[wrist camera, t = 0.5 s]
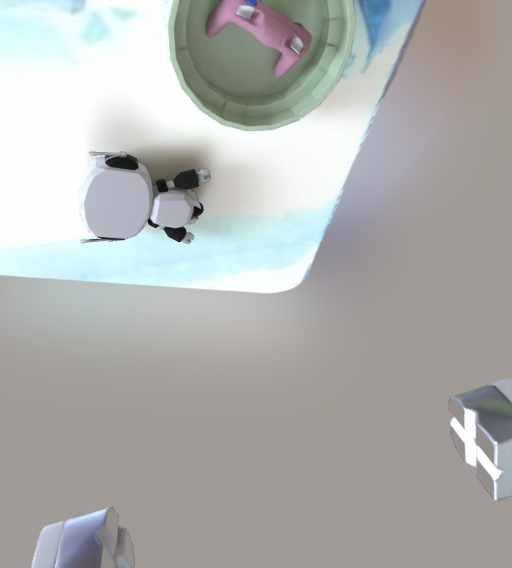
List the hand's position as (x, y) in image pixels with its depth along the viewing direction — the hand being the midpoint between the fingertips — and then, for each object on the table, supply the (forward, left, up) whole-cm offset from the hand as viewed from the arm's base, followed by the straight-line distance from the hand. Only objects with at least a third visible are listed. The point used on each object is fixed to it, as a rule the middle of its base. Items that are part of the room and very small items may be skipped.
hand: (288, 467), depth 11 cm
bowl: (-3, +9, -48) cm, 49 cm away
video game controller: (-3, +9, -48) cm, 49 cm away
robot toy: (+20, +9, -48) cm, 53 cm away
